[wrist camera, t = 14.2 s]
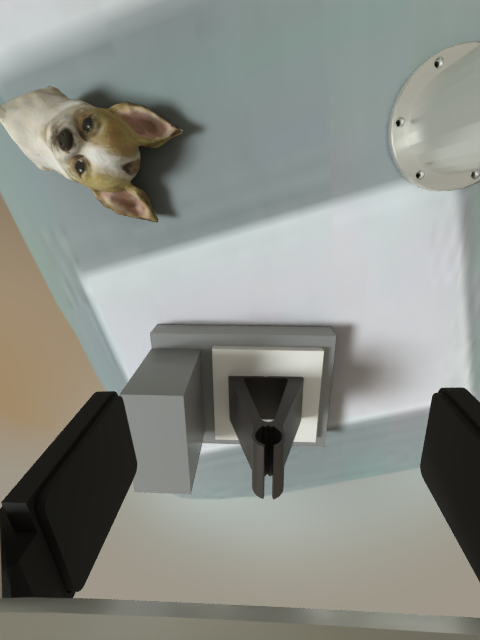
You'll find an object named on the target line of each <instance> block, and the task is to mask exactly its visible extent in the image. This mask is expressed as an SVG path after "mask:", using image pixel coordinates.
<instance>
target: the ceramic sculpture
mask: <svg viewBox="0 0 480 640" xmlns="http://www.w3.org/2000/svg"><path fill="white" fill-rule="evenodd" d="M0 122H1V123H2V124H3V126H4V127H5V129H6V130H7V132H8V133H9V135H10V136H11V137H12V139H13V140H14V141H15V142H16V143H17V145H18V146H19V147H20V149H21V150H22V151H23V152H24V153H25V155H26V156H27V157H28V158H29V159H31V160H32V161H33V162H34V163H35V164H36V166H37V167H38V168H39V169H41V170H45V171H58V172H59V173H61V174H62V175H64V176H65V177H66V178H67V179H69V180H72V181H75V182H78V183H80V184H82V185H84V186H86V187H88V188H90V189H91V190H92V191H93V192H94V194H95V196H96V198H97V199H98V200H99V201H100V202H101V203H102V205H103V206H104V207H107V208H109V209H111V210H113V211H114V212H116V213H117V214H119V215H125V216H129V217H134V218H138V219H143V220H149V221H153V222H158V218H157V216H156V214H155V212H154V211H153V208H152V206H151V203H150V201H149V199H148V196H147V194H146V193H145V192H144V191H143V190H142V189H140V188H138V187H135V186H134V185H132V184H131V183H130V182H131V180H132V179H133V178H134V177H135V176H136V174H137V172H138V171H139V167H140V162H141V159H140V151H139V146H147V147H150V148H157V147H160V146H161V145H163V144H164V143H166V142H167V141H169V140H170V139H172V138H173V137H175V136H178V135H180V134H182V132H183V130H182V129H181V128H179V127H178V126H176V125H174V124H172V123H171V122H170V121H169V120H167V119H166V118H164V117H162V116H161V115H159V114H157V113H156V112H154V111H152V110H150V109H148V108H147V107H145V106H144V105H135V104H131V103H129V102H123V103H119V104H115V105H113V106H112V107H110V108H107V109H103V108H98V107H94V106H92V105H90V104H88V103H86V102H84V101H82V100H71V99H69V98H67V97H66V96H65V95H64V94H63V93H61V91H60V90H59V89H57V88H55V87H52V86H48V87H46V88H44V89H39V90H34V91H31V92H28V93H26V94H24V95H22V96H19V97H16V98H14V99H12V100H10V101H9V102H7V103H5V104H3V105H0Z"/></svg>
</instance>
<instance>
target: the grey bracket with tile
mask: <svg viewBox="0 0 480 640" xmlns="http://www.w3.org/2000/svg"><path fill="white" fill-rule="evenodd" d="M150 337H151V346H152V349H151V350H150V352H149V353H148V355H147V356H146V358H145V359H144V360H143V362H142V363H141V365H140V366H139V368H138V369H137V370H136V372H135V373H134V375H133V376H132V378H131V379H130V380H129V382H128V383H127V385H126V386H125V388H124V389H123V390H122V392H121V393H120V396H121V397H122V398H123V401H124V405H125V410H126V414H127V419H128V423H129V428H130V432H131V436H132V441H133V445H134V450H135V454H136V459H137V471H136V474H135V477H134V479H133V484H134V491H135V492H149V493H174V494H191V491H192V487H193V482H194V478H195V473H196V469H197V464H198V460H199V455H200V451H201V446H202V443H219V444H240V442H239V440H238V437H237V435H236V433H235V431H234V428H233V426H232V424H231V422H230V419H229V388H228V377H229V376H264V377H267V376H288V377H303V378H304V383H303V400H302V416H301V423H300V425H299V428H298V431H297V433H296V436H295V439H294V441H293V444H292V446H322V447H325V440H326V431H327V421H328V412H329V402H330V392H331V383H332V373H333V364H334V354H335V345H336V334H335V333H334V331H333V329H332V328H331V327H324V326H243V325H162V324H157V325H156V327H155V328H154V329H153V330H152V332H151V333H150ZM262 420H263V421H266V422H270V421H273V420H264V419H262Z"/></svg>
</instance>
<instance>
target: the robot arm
mask: <svg viewBox="0 0 480 640" xmlns="http://www.w3.org/2000/svg"><path fill="white" fill-rule="evenodd" d="M434 63H436V65H437V67H435V65H434ZM396 121H398V122H399V126H397V125H396ZM388 142H389V148H390V153H391V156H392V158H393V161H394V163H395V165H396V167H397V168H398V170H399V171H400V173H401V174H402V175H403V176H404V177H405V178H406V179H407V180H408V181H410V182H411V183H413V184H415V185H416V186H418V187H421V188H424V189H427V190H433V191H451V190H456V189H461V188H464V187H467V186H469V185H472V184H474V183H476V182H478V181H480V42H468V43H460V44H457V45H454V46H451V47H449V48H446V49H444V50H442V51H441V52H439V53H437V54H435V55H434V56H432V57H431V58H430V59H428V60H427V61H426V62H424V63H423V64H422V65H421V66H420V67H419V68H418V69H417V70H416V71H415V72H414V73H413V74H412V75H411V76H410V77H409V79H408V80H407V81H406V83H405V84H404V86H403V87H402V89H401V91H400V92H399V94H398V96H397V98H396V100H395V103H394V106H393V109H392V112H391V115H390V121H389V126H388ZM416 173H418V175H419V176H418V177H417V178H416ZM471 174H472V177H471ZM420 469H421V474H422V477H423V479H424V481H425V483H426V484H427V486H428V488H429V490H430V492H431V493H432V495H433V497H434V499H435V501H436V503H437V505H438V506H439V508H440V510H441V512H442V514H443V515H444V517H445V519H446V521H447V523H448V524H449V526H450V528H451V530H452V532H453V534H454V536H455V537H456V539H457V541H458V543H459V545H460V547H461V548H462V550H463V552H464V554H465V556H466V558H467V559H468V561H469V563H470V565H471V567H472V568H473V570H474V572H475V574H476V576H477V578H478V580H479V581H480V402H479V401H478V400H477V399H476V398H475V397H474V396H473V395H472V394H471V393H470V392H469V391H468V390H466V389H465V388H441V389H440V390H439V391H438V393H434V394H433V396H432V401H431V407H430V412H429V418H428V424H427V429H426V435H425V441H424V447H423V452H422V458H421V464H420ZM136 471H137V459H136V454H135V450H134V445H133V441H132V436H131V432H130V428H129V423H128V419H127V414H126V410H125V405H124V401H123V398H122V397H121V396H118V394H117V393H116V392H114V391H110V392H96V393H94V394H93V395H92V397H91V398H90V399H89V400H88V401H87V402H86V404H85V405H84V406H83V407H82V408H81V409H80V411H79V412H78V413H77V414H76V415H75V417H74V418H73V419H72V420H71V421H70V422H69V424H68V425H67V426H66V427H65V428H64V430H63V431H62V432H61V433H60V434H59V435H58V436H57V438H56V439H55V440H54V441H53V442H52V444H51V445H50V446H49V447H48V448H47V449H46V451H45V452H44V453H43V454H42V455H41V456H40V458H39V459H38V460H37V461H36V463H34V465H33V466H32V467H31V468H30V469H29V471H28V472H27V473H26V474H25V475H24V476H23V478H22V479H21V480H20V481H19V482H18V483H17V485H16V486H15V487H14V488H13V489H12V490H11V492H10V493H9V494H8V495H7V496H6V497H5V499H4V500H3V501H2V502H1V503H2V505H3V506H2V507H1V509H0V640H480V618H471V617H452V616H434V615H417V614H399V613H381V612H363V611H345V610H344V611H343V610H324V609H305V608H286V607H285V608H284V607H266V606H245V605H225V604H204V603H181V602H179V603H178V602H157V601H134V600H112V599H83V598H73V596H74V594H75V592H78V591H80V590H81V589H82V588H83V586H84V585H85V583H86V580H87V578H88V576H89V574H90V572H91V569H92V567H93V565H94V563H95V561H96V559H97V557H98V554H99V552H100V550H101V548H102V546H103V544H104V542H105V539H106V537H107V535H108V533H109V531H110V528H111V526H112V524H113V522H114V520H115V518H116V516H117V513H118V511H119V509H120V507H121V504H122V503H123V500H124V498H125V496H126V494H127V492H128V490H129V487H130V485H131V483H132V481H133V479H134V477H135V474H136Z"/></svg>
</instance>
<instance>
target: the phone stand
mask: <svg viewBox="0 0 480 640" xmlns="http://www.w3.org/2000/svg"><path fill="white" fill-rule="evenodd" d="M303 383H304V378H303V377H288V376H267V377H264V376H229V377H228V388H229V419H230V422H231V424H232V426H233V428H234V431H235V433H236V435H237V437H238V440H239V442H240V444H241V446H242V449H243V451H244V453H245V456H246V458H247V460H248V462H249V465H250V467H251V469H252V489H253V491H254V493H255V494H256V495H257V496H258V497H260V498H262V499H263V498H264V476H265V475H266V474H268V475H269V476H272V475H273V484H272V497H273V499H275V498H277V497H279V496H280V495H281V494H282V492H283V486H284V465H285V462H286V460H287V457H288V455H289V452H290V449H291V447H292V444H293V441H294V439H295V436H296V433H297V431H298V428H299V425H300V423H301V416H302V400H303ZM262 419H264V420H273V421H270V422H266V421H263V420H262Z"/></svg>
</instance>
